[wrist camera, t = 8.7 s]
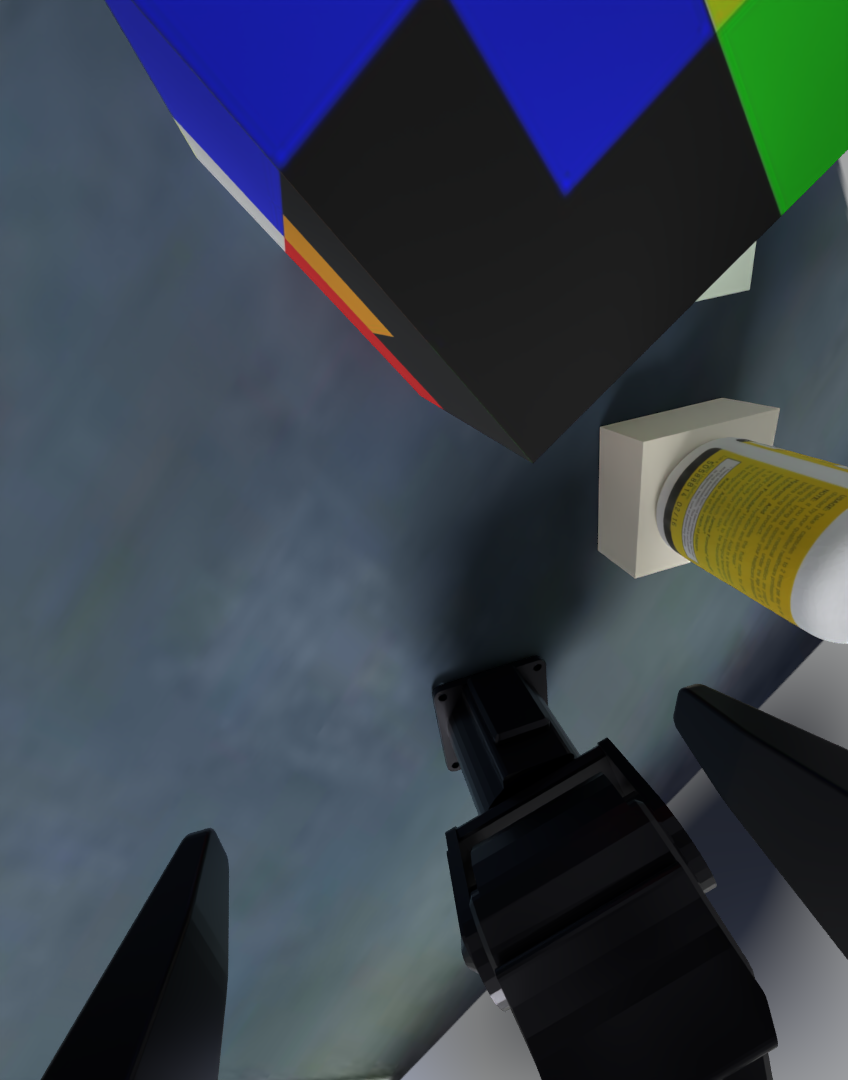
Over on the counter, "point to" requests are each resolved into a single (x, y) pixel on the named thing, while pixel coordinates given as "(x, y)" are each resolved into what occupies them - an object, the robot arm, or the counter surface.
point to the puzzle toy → (506, 167)
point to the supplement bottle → (765, 528)
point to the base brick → (660, 473)
